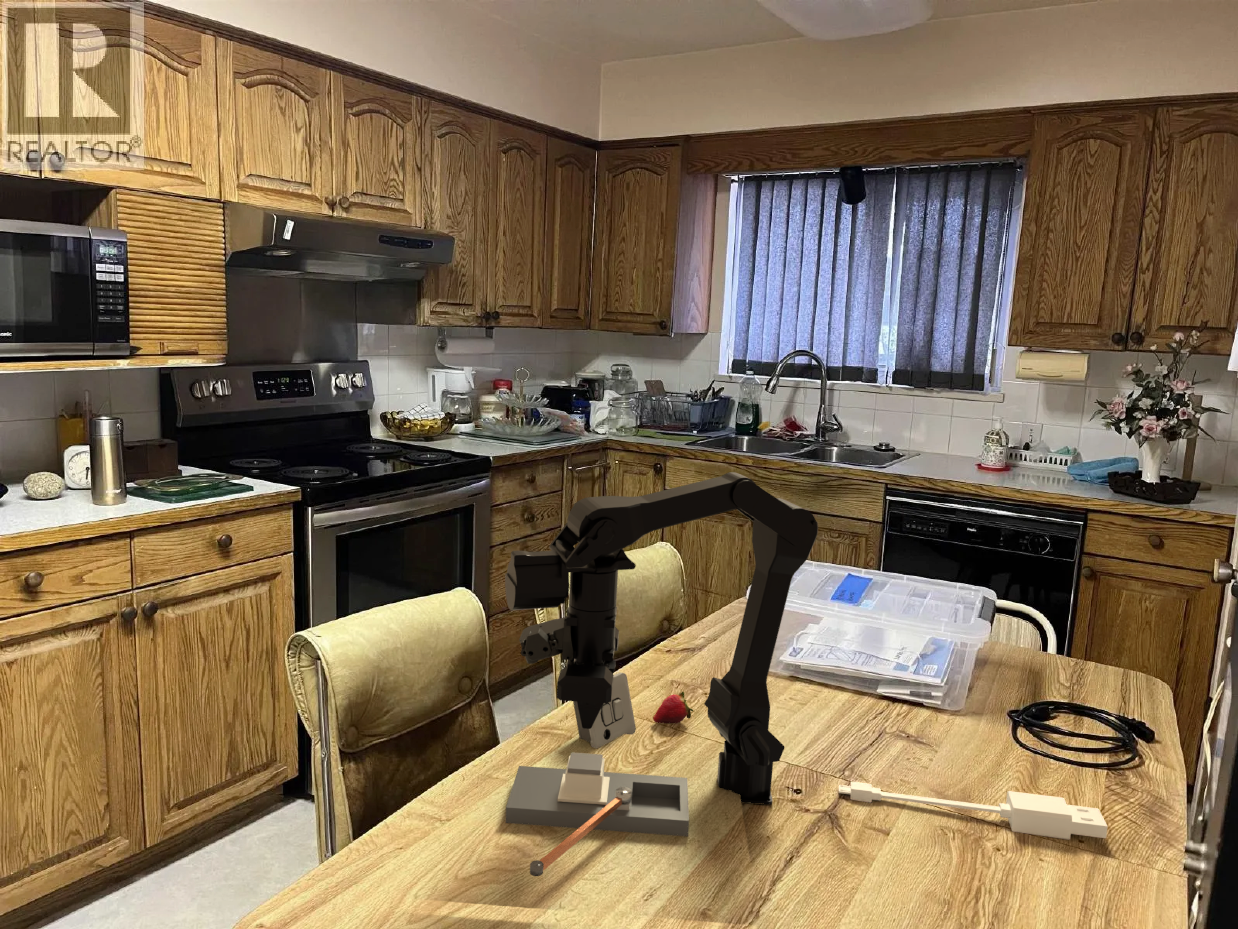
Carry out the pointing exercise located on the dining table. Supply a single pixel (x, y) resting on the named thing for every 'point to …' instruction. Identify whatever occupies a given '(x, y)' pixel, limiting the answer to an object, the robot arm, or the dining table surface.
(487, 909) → the dining table surface
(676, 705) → the fruit
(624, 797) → the copper link
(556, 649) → the robot arm
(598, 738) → the electrical switch
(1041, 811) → the charging cable
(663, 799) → the grey socket base
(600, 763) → the plug
